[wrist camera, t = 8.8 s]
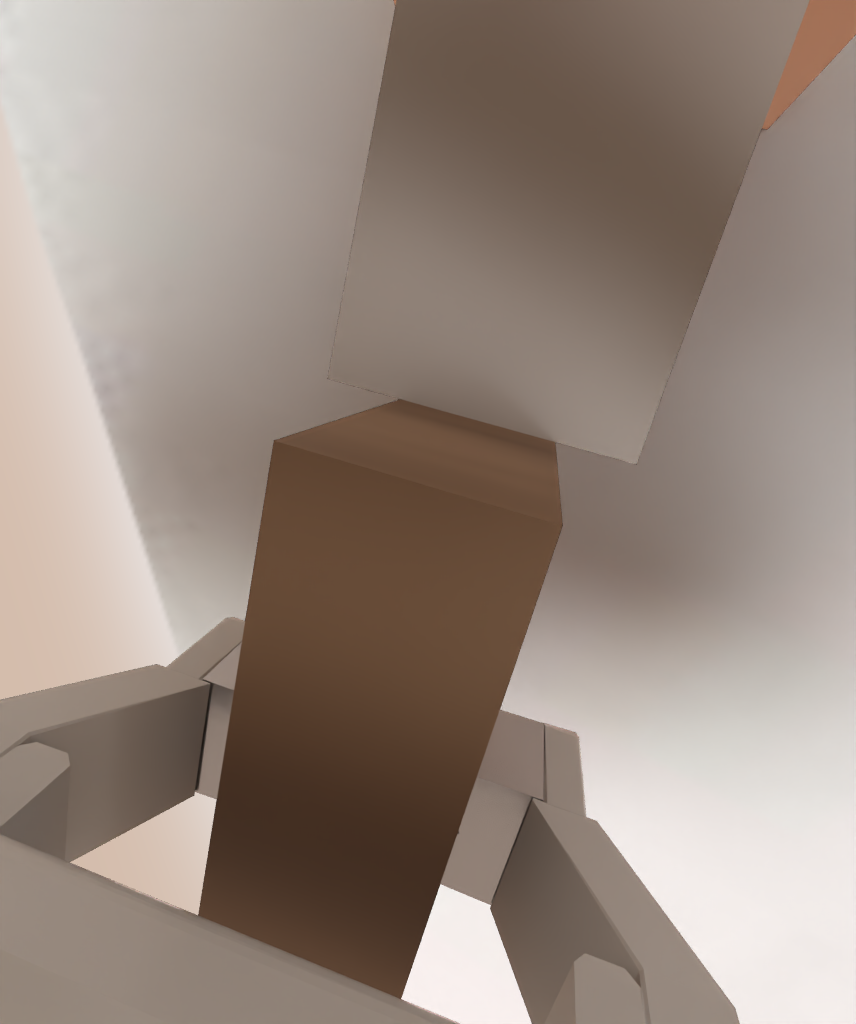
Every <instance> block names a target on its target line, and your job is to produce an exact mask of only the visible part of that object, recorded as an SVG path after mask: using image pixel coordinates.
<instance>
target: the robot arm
mask: <svg viewBox="0 0 856 1024" xmlns="http://www.w3.org/2000/svg"><path fill="white" fill-rule="evenodd" d="M244 625H245V621H244V620H241V619H238V618H235V617H229V618H226V619H224V620H223V621H222V622H221V623H219V624H218V625H217V626H216V627H214V628H213V629H212V630H211V631H210V632H208V633H207V634H206V635H205V636H203V637H202V638H201V639H200V640H199V641H197V642H196V643H195V644H194V645H193V646H191V647H190V648H189V649H188V650H186V651H185V652H184V653H183V654H182V655H180V656H179V657H178V658H177V659H175V660H174V661H173V662H172V663H171V664H169V665H168V666H167V667H163V666H160V665H157V664H155V665H151V666H146V667H142V668H138V669H133V670H129V671H124V672H120V673H116V674H111V675H107V676H102V677H98V678H94V679H89V680H85V681H80V682H77V683H72V684H67V685H63V686H58V687H54V688H50V689H45V690H41V691H36V692H32V693H28V694H23V695H19V696H14V697H10V698H6V699H1V700H0V1024H460V1023H458V1022H455V1021H453V1020H450V1019H448V1018H446V1017H443V1016H441V1015H438V1014H436V1013H433V1012H431V1011H429V1010H426V1009H424V1008H421V1007H419V1006H416V1005H414V1004H412V1003H409V1002H407V1001H404V1000H402V999H399V998H397V997H395V996H392V995H390V994H387V993H385V992H383V991H380V990H378V989H375V988H373V987H370V986H368V985H366V984H363V983H361V982H358V981H356V980H353V979H351V978H349V977H346V976H344V975H341V974H339V973H336V972H334V971H332V970H329V969H327V968H324V967H322V966H319V965H317V964H315V963H312V962H310V961H307V960H305V959H302V958H300V957H298V956H295V955H293V954H290V953H288V952H285V951H283V950H281V949H278V948H276V947H273V946H271V945H268V944H266V943H264V942H261V941H259V940H256V939H254V938H251V937H249V936H247V935H244V934H242V933H239V932H237V931H234V930H232V929H230V928H227V927H225V926H222V925H220V924H217V923H215V922H213V921H210V920H208V919H205V918H203V917H200V916H198V915H195V914H193V913H191V912H188V911H186V910H183V909H181V908H178V907H176V906H174V905H171V904H169V903H166V902H164V901H162V900H159V899H157V898H154V897H152V896H149V895H147V894H145V893H142V892H140V891H137V890H135V889H132V888H130V887H128V886H125V885H123V884H120V883H118V882H115V881H113V880H111V879H108V878H106V877H103V876H101V875H98V874H96V873H94V872H91V871H89V870H86V869H84V868H82V867H79V866H77V865H74V864H72V863H69V862H71V861H73V860H75V859H77V858H78V857H81V856H82V855H84V854H86V853H88V852H90V851H92V850H94V849H95V848H97V847H99V846H101V845H103V844H105V843H107V842H108V841H110V840H112V839H114V838H116V837H117V836H120V835H121V834H123V833H125V832H127V831H129V830H130V829H133V828H134V827H136V826H138V825H140V824H142V823H144V822H146V821H147V820H149V819H151V818H153V817H155V816H157V815H159V814H160V813H162V812H164V811H166V810H168V809H170V808H172V807H174V806H175V805H177V804H179V803H181V802H183V801H185V800H186V799H188V798H190V797H192V796H194V793H195V792H197V793H200V794H203V795H206V796H209V797H212V798H215V799H217V795H218V788H219V782H220V776H221V770H222V763H223V757H224V751H225V744H226V738H227V732H228V726H229V719H230V713H231V707H232V701H233V694H234V688H235V682H236V675H237V669H238V663H239V657H240V650H241V644H242V638H243V631H244ZM440 884H442V885H444V886H446V887H449V888H451V889H454V890H456V891H458V892H461V893H463V894H466V895H468V896H470V897H473V898H475V899H478V900H480V901H482V902H485V903H487V904H490V905H491V907H490V909H491V912H492V915H493V917H494V920H495V923H496V926H497V928H498V931H499V934H500V937H501V939H502V942H503V945H504V948H505V950H506V953H507V956H508V959H509V961H510V964H511V967H512V970H513V972H514V975H515V978H516V981H517V983H518V986H519V989H520V992H521V995H522V997H523V1000H524V1003H525V1006H526V1008H527V1011H528V1014H529V1017H530V1019H531V1022H532V1024H740V1023H739V1020H738V1016H737V1013H736V1009H735V1007H734V1006H733V1005H732V1003H731V1002H730V1000H729V999H728V998H727V996H726V995H725V994H724V992H723V991H722V990H721V988H720V987H719V986H718V984H717V983H716V982H715V980H714V979H713V977H712V976H711V975H710V973H709V972H708V971H707V969H706V968H705V967H704V965H703V964H702V963H701V961H700V960H699V959H698V957H697V956H696V954H695V953H694V952H693V950H692V949H691V948H690V946H689V945H688V944H687V942H686V941H685V940H684V938H683V937H682V936H681V934H680V933H679V931H678V930H677V929H676V927H675V926H674V925H673V923H672V922H671V921H670V919H669V918H668V917H667V915H666V914H665V913H664V911H663V910H662V908H661V907H660V906H659V904H658V903H657V902H656V900H655V899H654V898H653V896H652V895H651V894H650V892H649V891H648V890H647V888H646V887H645V885H644V884H643V883H642V881H641V880H640V879H639V877H638V876H637V875H636V873H635V872H634V871H633V869H632V868H631V866H630V865H629V864H628V862H627V861H626V860H625V858H624V857H623V856H622V854H621V853H620V852H619V850H618V849H617V848H616V846H615V845H614V843H613V842H612V841H611V839H610V838H609V837H608V835H607V834H606V833H605V831H604V830H603V829H602V827H601V826H600V825H599V823H598V822H597V821H595V820H593V819H590V818H587V817H586V808H585V796H584V785H583V774H582V763H581V752H580V741H579V736H578V735H577V733H576V732H573V731H569V730H566V729H563V728H559V727H556V726H553V725H549V724H546V723H541V722H538V721H534V720H531V719H528V718H525V717H522V716H519V715H516V714H513V713H509V712H506V711H503V710H500V711H499V714H498V716H497V719H496V722H495V725H494V728H493V731H492V734H491V737H490V740H489V743H488V746H487V749H486V752H485V755H484V757H483V760H482V763H481V766H480V769H479V772H478V775H477V778H476V781H475V784H474V787H473V790H472V793H471V795H470V798H469V801H468V804H467V807H466V810H465V813H464V816H463V819H462V822H461V825H460V828H459V831H458V834H457V836H456V839H455V842H454V845H453V848H452V851H451V854H450V857H449V860H448V863H447V866H446V869H445V872H444V875H443V877H442V880H441V883H440Z"/></svg>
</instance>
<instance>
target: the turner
mask: <svg viewBox="0 0 856 1024" xmlns="http://www.w3.org/2000/svg"><path fill="white" fill-rule="evenodd" d="M809 1H810V0H397V1H396V7H395V12H394V17H393V23H392V28H391V34H390V39H389V45H388V50H387V56H386V61H385V67H384V72H383V77H382V83H381V88H380V94H379V99H378V105H377V110H376V116H375V121H374V127H373V132H372V137H371V143H370V148H369V154H368V159H367V165H366V170H365V176H364V181H363V187H362V192H361V197H360V203H359V208H358V214H357V219H356V225H355V230H354V236H353V241H352V247H351V252H350V258H349V263H348V268H347V274H346V279H345V285H344V290H343V296H342V301H341V307H340V312H339V318H338V323H337V328H336V334H335V339H334V345H333V350H332V356H331V361H330V367H329V372H328V378H327V379H329V380H333V381H337V382H340V383H344V384H347V385H351V386H355V387H358V388H362V389H366V390H369V391H373V392H376V393H380V394H384V395H387V396H391V397H394V398H398V399H400V400H397V401H394V402H391V403H388V404H385V405H382V406H379V407H375V408H372V409H369V410H366V411H363V412H360V413H357V414H354V415H351V416H348V417H345V418H342V419H339V420H336V421H332V422H329V423H326V424H323V425H320V426H317V427H314V428H311V429H308V430H305V431H302V432H299V433H296V434H293V435H290V436H286V437H283V438H280V439H277V440H274V443H273V449H272V455H271V462H270V468H269V474H268V481H267V487H266V493H265V499H264V506H263V512H262V518H261V525H260V531H259V537H258V543H257V550H256V556H255V562H254V569H253V575H252V581H251V587H250V594H249V600H248V606H247V613H246V619H245V625H244V631H243V638H242V644H241V650H240V657H239V663H238V669H237V675H236V682H235V688H234V694H233V701H232V707H231V713H230V719H229V726H228V732H227V738H226V744H225V751H224V757H223V763H222V770H221V776H220V782H219V788H218V795H217V801H216V807H215V814H214V820H213V826H212V832H211V839H210V846H209V851H208V858H207V864H206V870H205V876H204V883H203V889H202V896H201V902H200V908H199V914H198V916H200V917H203V918H205V919H208V920H210V921H213V922H215V923H217V924H220V925H222V926H225V927H227V928H230V929H232V930H234V931H237V932H239V933H242V934H244V935H247V936H249V937H251V938H254V939H256V940H259V941H261V942H264V943H266V944H268V945H271V946H273V947H276V948H278V949H281V950H283V951H285V952H288V953H290V954H293V955H295V956H298V957H300V958H302V959H305V960H307V961H310V962H312V963H315V964H317V965H319V966H322V967H324V968H327V969H329V970H332V971H334V972H336V973H339V974H341V975H344V976H346V977H349V978H351V979H353V980H356V981H358V982H361V983H363V984H366V985H368V986H370V987H373V988H375V989H378V990H380V991H383V992H385V993H387V994H390V995H392V996H395V997H397V998H399V999H401V997H402V995H403V992H404V989H405V986H406V983H407V980H408V977H409V974H410V971H411V968H412V965H413V962H414V959H415V956H416V954H417V951H418V948H419V945H420V942H421V939H422V936H423V933H424V930H425V927H426V924H427V921H428V918H429V915H430V913H431V910H432V907H433V904H434V901H435V898H436V895H437V892H438V889H439V886H440V883H441V880H442V877H443V875H444V872H445V869H446V866H447V863H448V860H449V857H450V854H451V851H452V848H453V845H454V842H455V839H456V836H457V834H458V831H459V828H460V825H461V822H462V819H463V816H464V813H465V810H466V807H467V804H468V801H469V798H470V795H471V793H472V790H473V787H474V784H475V781H476V778H477V775H478V772H479V769H480V766H481V763H482V760H483V757H484V755H485V752H486V749H487V746H488V743H489V740H490V737H491V734H492V731H493V728H494V725H495V722H496V719H497V716H498V714H499V711H500V708H501V705H502V702H503V699H504V696H505V693H506V690H507V687H508V684H509V681H510V678H511V675H512V673H513V670H514V667H515V664H516V661H517V658H518V655H519V652H520V649H521V646H522V643H523V640H524V637H525V635H526V632H527V629H528V626H529V623H530V620H531V617H532V614H533V611H534V608H535V605H536V602H537V599H538V596H539V594H540V591H541V588H542V585H543V582H544V579H545V576H546V573H547V570H548V567H549V564H550V561H551V558H552V555H553V553H554V550H555V547H556V544H557V541H558V538H559V535H560V532H561V529H562V526H563V524H562V513H561V501H560V490H559V479H558V468H557V456H556V445H555V442H557V443H560V444H564V445H567V446H571V447H575V448H578V449H582V450H585V451H589V452H593V453H596V454H600V455H603V456H607V457H611V458H614V459H618V460H621V461H625V462H629V463H632V464H636V465H637V462H638V460H639V457H640V454H641V452H642V449H643V446H644V443H645V441H646V438H647V435H648V433H649V430H650V427H651V425H652V422H653V419H654V417H655V414H656V411H657V409H658V406H659V403H660V401H661V398H662V395H663V392H664V390H665V387H666V384H667V382H668V379H669V376H670V374H671V371H672V368H673V366H674V363H675V360H676V358H677V355H678V352H679V350H680V347H681V344H682V341H683V339H684V336H685V333H686V331H687V328H688V325H689V323H690V320H691V317H692V315H693V312H694V309H695V307H696V304H697V301H698V299H699V296H700V293H701V290H702V288H703V285H704V282H705V280H706V277H707V274H708V272H709V269H710V266H711V264H712V261H713V258H714V256H715V253H716V250H717V248H718V245H719V242H720V239H721V237H722V234H723V231H724V229H725V226H726V223H727V221H728V218H729V215H730V213H731V210H732V207H733V205H734V202H735V199H736V197H737V194H738V191H739V188H740V186H741V183H742V180H743V178H744V175H745V172H746V170H747V167H748V164H749V162H750V159H751V156H752V154H753V151H754V148H755V146H756V143H757V140H758V137H759V135H760V132H761V129H762V127H763V124H764V121H765V119H766V116H767V113H768V111H769V108H770V105H771V103H772V100H773V97H774V95H775V92H776V89H777V86H778V84H779V81H780V78H781V76H782V73H783V70H784V68H785V65H786V62H787V60H788V57H789V54H790V52H791V49H792V46H793V44H794V41H795V38H796V35H797V33H798V30H799V27H800V25H801V22H802V19H803V17H804V14H805V11H806V9H807V6H808V3H809Z"/></svg>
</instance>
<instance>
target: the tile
mask: <svg viewBox="0 0 856 1024" xmlns="http://www.w3.org/2000/svg"><path fill="white" fill-rule="evenodd" d="M393 1H394V4H395V6H396V1H397V0H393ZM855 35H856V0H810V1H809V3H808V6H807V9H806V11H805V14H804V17H803V19H802V22H801V25H800V27H799V30H798V33H797V35H796V38H795V41H794V44H793V46H792V49H791V52H790V54H789V57H788V60H787V62H786V65H785V68H784V70H783V73H782V76H781V78H780V81H779V84H778V86H777V89H776V92H775V95H774V97H773V100H772V103H771V105H770V108H769V111H768V113H767V116H766V119H765V121H764V124H763V127H762V129H768V128H769V127H770V126H771V125H772V124H773V123H774V122H775V121H776V120H777V119H778V118H779V117H780V115H781V114H782V113H783V112H784V111H785V110H786V109H787V108H788V107H789V106H790V105H791V104H792V103H793V102H794V100H795V99H796V98H797V97H798V96H799V95H800V94H801V93H802V92H803V91H804V90H805V89H806V88H807V87H808V85H809V84H810V83H811V82H812V81H813V80H814V79H815V78H816V77H817V76H818V75H819V74H820V73H821V72H822V70H823V69H824V68H825V67H826V66H827V65H828V64H829V63H830V62H831V61H832V60H833V59H834V58H835V57H836V55H837V54H838V53H839V52H840V51H841V50H842V49H843V48H844V47H845V46H846V45H847V44H848V43H849V41H850V40H851V39H852V38H853V37H854V36H855Z"/></svg>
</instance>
